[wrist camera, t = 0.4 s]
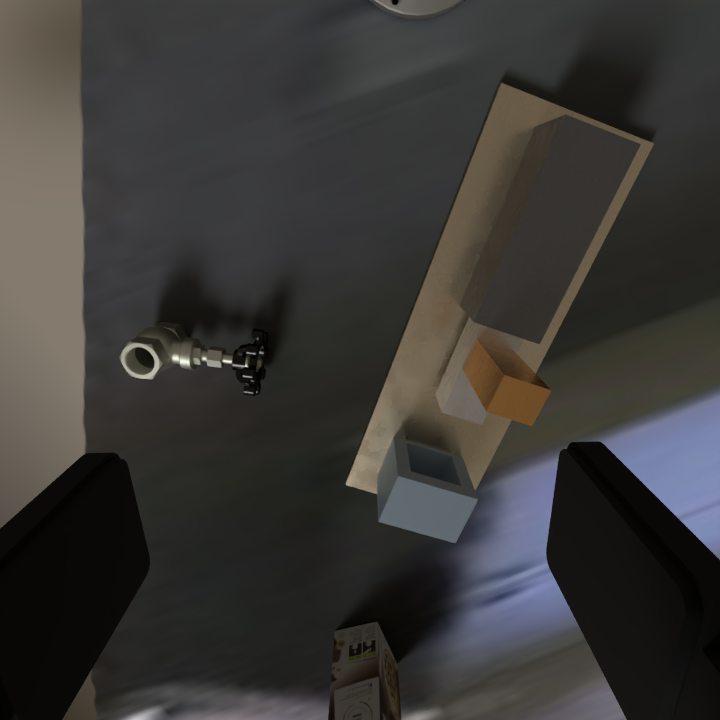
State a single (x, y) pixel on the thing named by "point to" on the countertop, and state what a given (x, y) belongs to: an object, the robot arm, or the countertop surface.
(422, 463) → the socket block
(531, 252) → the stand
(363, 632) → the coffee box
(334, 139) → the countertop surface
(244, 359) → the valve
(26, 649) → the robot arm
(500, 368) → the sliding bar with handle
